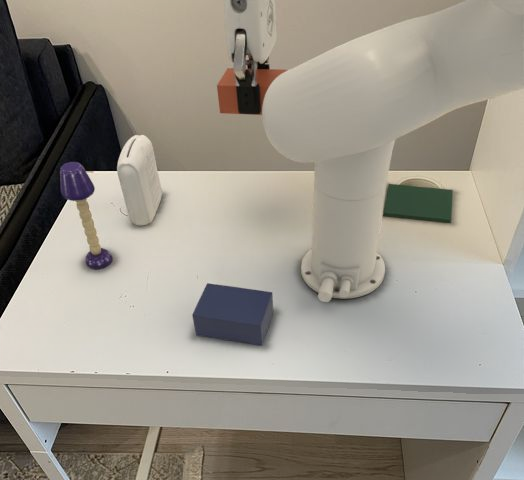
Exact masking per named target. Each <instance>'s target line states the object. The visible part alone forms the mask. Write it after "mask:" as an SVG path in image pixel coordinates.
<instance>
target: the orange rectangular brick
mask: <svg viewBox="0 0 524 480" xmlns="http://www.w3.org/2000/svg"><path fill="white" fill-rule="evenodd" d="M246 70H249V71H250V73H251V69H247V68H246ZM288 70H289V69H275V68H274V69H273V68H272V69H271V68H270V69H257V84H259V85H260V102H261V112H260V114H248V115H250V116H251V115H253V116H262V106H263V101H264V97H265V94H266V92H267V90H268V88H269V86H270V85H271V83H272V82H273V81H274V80H275V79H276V78H277V77H278V76H279V75H280V74H282V73H284V72H286V71H288ZM216 91H217V98H218V107H219V114H224V115H225V114H227V115H241V114H240V113H239V112H238V103H237V91H236V83H235V73H234V70H233V67H231V68H230V67H227V68H226V70H225V71H224V73H223V75H222V76H221V78H220V80H219V81H218V83H217V84H216Z"/></svg>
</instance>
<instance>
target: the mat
mask: <svg viewBox="0 0 524 480" xmlns="http://www.w3.org/2000/svg"><path fill="white" fill-rule="evenodd" d="M453 191H454V190H453V189H448V188H447V189H446V188H437V187H426V186H417V185H416V186H414V185H405V184H396V183H395V184H394V183H388V186H387V190H386V195H385V201H384V207H383V214H382V217H383V216H384V217H392V218H401V219H412V220H420V221H430V222H439V223H449V224H450V223H451V222H452V211H453V210H452V209H453V208H452V207H453Z"/></svg>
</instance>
